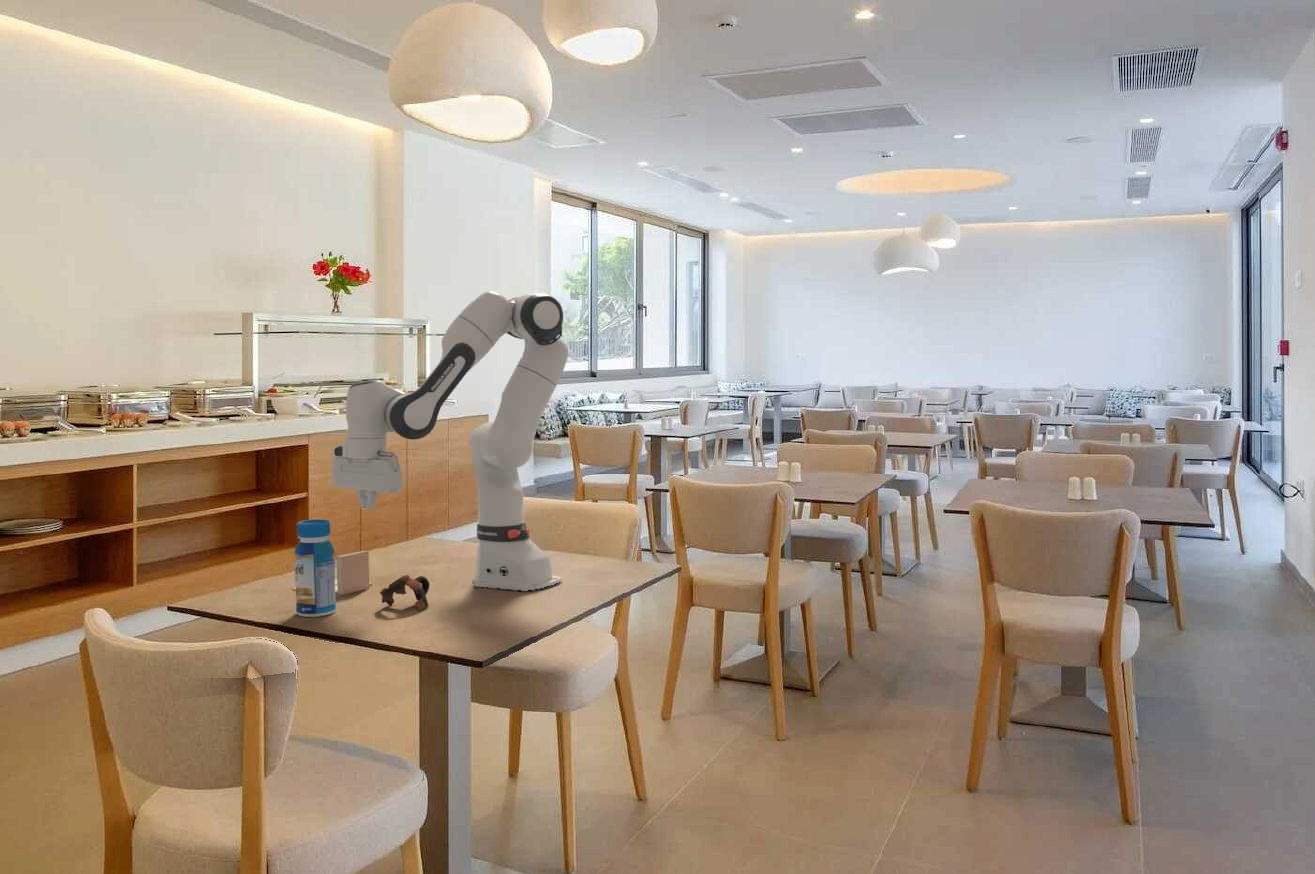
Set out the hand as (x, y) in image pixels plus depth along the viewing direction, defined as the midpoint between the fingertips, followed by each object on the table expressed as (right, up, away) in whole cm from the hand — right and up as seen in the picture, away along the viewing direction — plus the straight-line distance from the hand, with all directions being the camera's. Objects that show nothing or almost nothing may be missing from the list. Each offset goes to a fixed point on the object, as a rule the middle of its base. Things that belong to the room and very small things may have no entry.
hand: (367, 509), depth 230 cm
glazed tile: (-5, -20, +5) cm, 21 cm away
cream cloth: (-11, -19, +9) cm, 24 cm away
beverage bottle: (-7, -22, -15) cm, 27 cm away
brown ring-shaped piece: (+12, -21, -10) cm, 26 cm away
